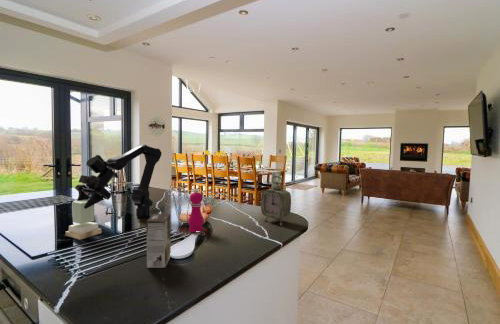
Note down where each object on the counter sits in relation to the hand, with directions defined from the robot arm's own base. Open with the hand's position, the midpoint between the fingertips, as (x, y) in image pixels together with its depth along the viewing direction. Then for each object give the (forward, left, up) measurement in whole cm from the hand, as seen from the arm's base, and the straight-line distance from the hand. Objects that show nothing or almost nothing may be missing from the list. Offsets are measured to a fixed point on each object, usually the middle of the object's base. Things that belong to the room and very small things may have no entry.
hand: (80, 207), depth 121 cm
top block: (-1, -1, -11) cm, 11 cm away
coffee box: (-27, +42, -13) cm, 52 cm away
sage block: (-1, -1, -7) cm, 7 cm away
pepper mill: (-48, +14, -13) cm, 52 cm away
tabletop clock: (-91, +17, -13) cm, 94 cm away
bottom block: (-1, -1, -13) cm, 13 cm away
